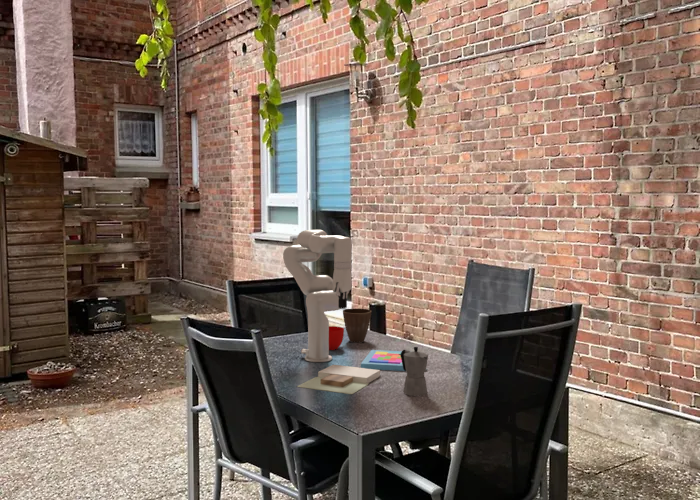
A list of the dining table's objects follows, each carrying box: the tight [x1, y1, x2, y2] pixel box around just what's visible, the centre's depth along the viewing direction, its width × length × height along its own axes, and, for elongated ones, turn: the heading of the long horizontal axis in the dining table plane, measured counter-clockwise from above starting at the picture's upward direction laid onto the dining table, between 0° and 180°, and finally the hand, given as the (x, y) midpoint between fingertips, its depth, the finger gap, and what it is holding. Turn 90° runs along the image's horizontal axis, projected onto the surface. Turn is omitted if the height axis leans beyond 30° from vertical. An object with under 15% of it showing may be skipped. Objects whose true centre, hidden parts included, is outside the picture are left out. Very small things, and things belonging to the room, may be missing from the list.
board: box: [317, 364, 381, 384], centre depth 292 cm, size 22×14×2 cm, turn 65°
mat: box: [296, 376, 370, 395], centre depth 279 cm, size 24×16×1 cm, turn 65°
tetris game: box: [360, 349, 406, 372], centre depth 317 cm, size 28×3×28 cm
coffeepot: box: [401, 346, 429, 397], centre depth 269 cm, size 15×9×18 cm, turn 35°
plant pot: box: [342, 308, 372, 343], centre depth 364 cm, size 15×15×16 cm
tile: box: [321, 374, 353, 387], centre depth 282 cm, size 10×9×2 cm
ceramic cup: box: [329, 325, 345, 351], centre depth 347 cm, size 13×17×10 cm
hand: (342, 307), depth 303 cm, fingers closed
